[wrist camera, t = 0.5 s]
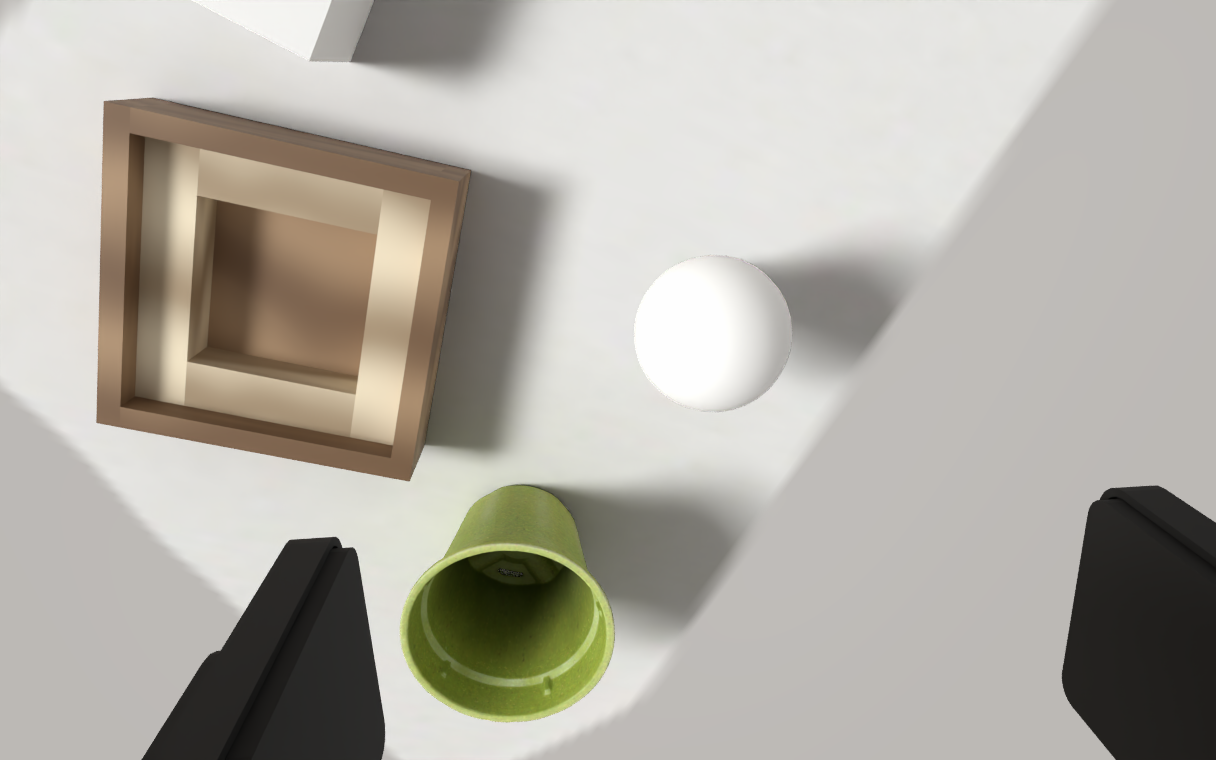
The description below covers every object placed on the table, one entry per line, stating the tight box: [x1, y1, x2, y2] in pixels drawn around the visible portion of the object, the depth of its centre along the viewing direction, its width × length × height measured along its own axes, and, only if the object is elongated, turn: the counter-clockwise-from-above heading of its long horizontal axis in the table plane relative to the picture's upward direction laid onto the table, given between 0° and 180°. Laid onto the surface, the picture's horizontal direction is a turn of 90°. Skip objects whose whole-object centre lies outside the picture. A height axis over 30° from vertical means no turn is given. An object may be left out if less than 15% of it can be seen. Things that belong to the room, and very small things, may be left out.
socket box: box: [97, 98, 471, 481], centre depth 38 cm, size 14×14×4 cm
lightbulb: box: [634, 255, 792, 412], centre depth 35 cm, size 6×6×11 cm
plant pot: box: [400, 485, 615, 722], centre depth 41 cm, size 9×9×9 cm
